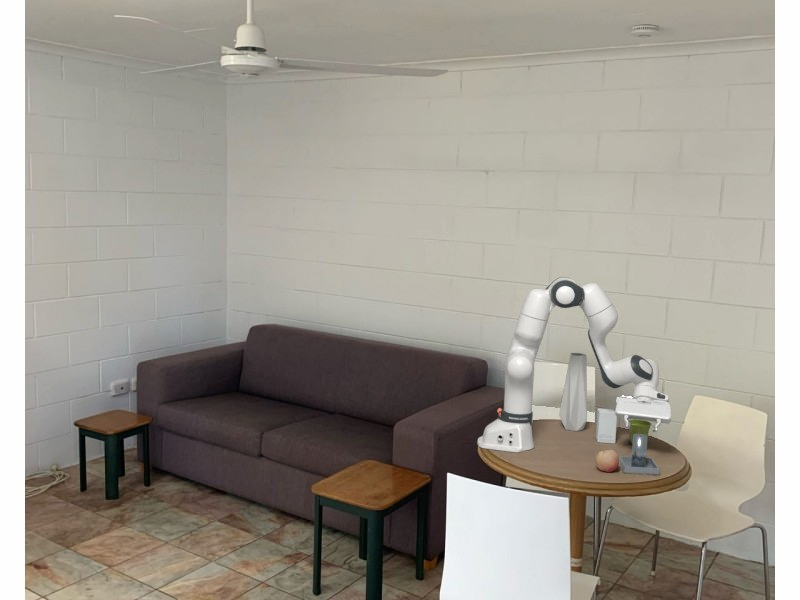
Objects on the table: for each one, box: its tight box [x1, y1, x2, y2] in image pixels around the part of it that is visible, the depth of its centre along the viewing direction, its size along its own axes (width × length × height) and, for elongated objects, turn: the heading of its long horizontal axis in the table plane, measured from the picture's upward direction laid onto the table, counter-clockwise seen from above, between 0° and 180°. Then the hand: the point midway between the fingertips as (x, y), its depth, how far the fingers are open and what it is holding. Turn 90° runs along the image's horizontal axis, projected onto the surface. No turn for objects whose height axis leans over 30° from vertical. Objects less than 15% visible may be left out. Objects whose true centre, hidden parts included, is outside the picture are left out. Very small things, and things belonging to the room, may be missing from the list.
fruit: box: [595, 449, 620, 473], centre depth 274 cm, size 8×8×8 cm
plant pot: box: [628, 419, 653, 444], centre depth 309 cm, size 9×9×9 cm
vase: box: [558, 352, 588, 432], centre depth 326 cm, size 12×12×33 cm
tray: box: [618, 455, 660, 476], centre depth 278 cm, size 12×12×2 cm
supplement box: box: [595, 408, 618, 444], centre depth 312 cm, size 7×7×13 cm
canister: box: [631, 433, 648, 467], centre depth 277 cm, size 5×5×12 cm
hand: (641, 429), depth 282 cm, fingers open, 8 cm apart
